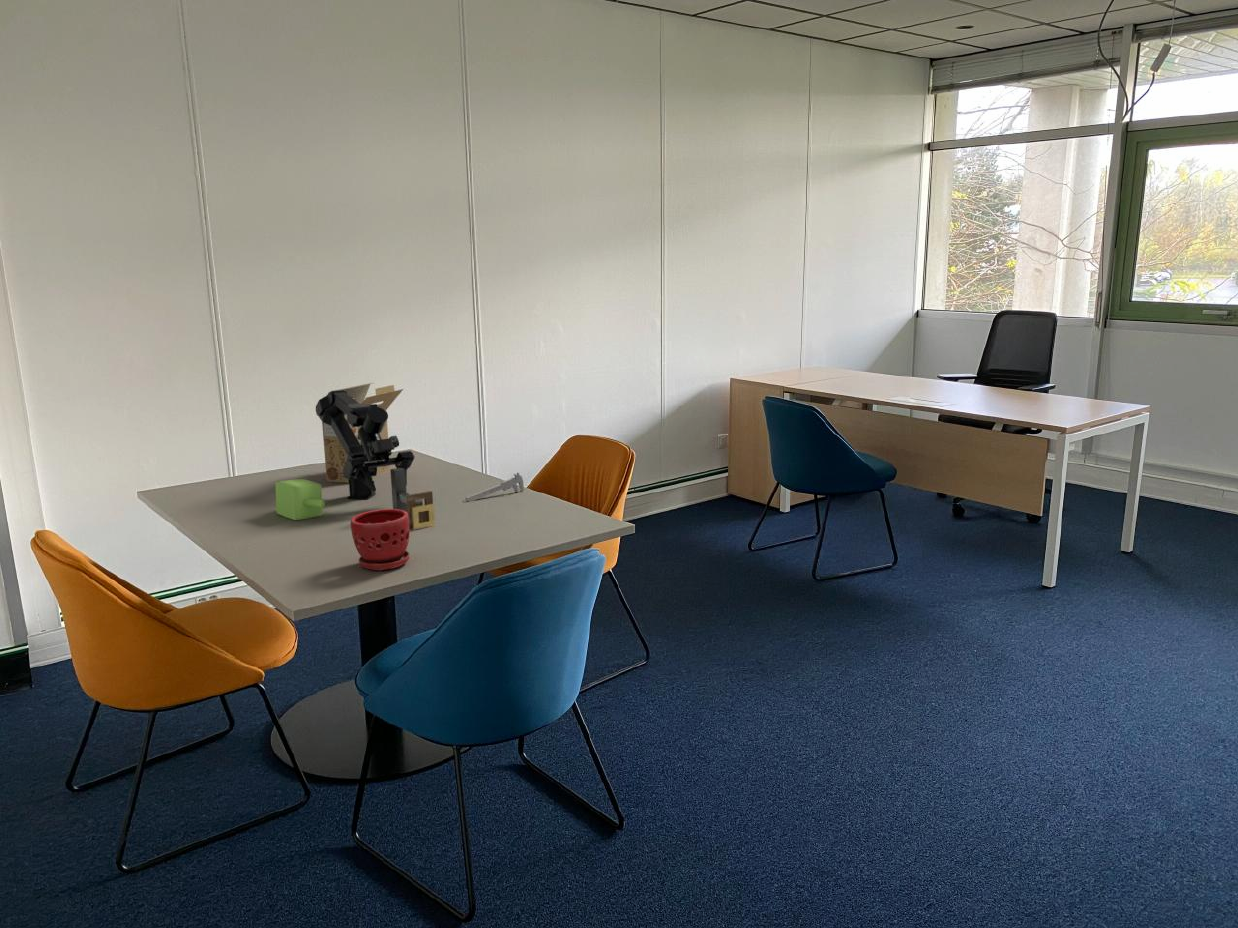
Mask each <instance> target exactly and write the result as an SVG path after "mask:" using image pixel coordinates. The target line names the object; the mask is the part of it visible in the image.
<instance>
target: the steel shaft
mask: <svg viewBox="0 0 1238 928" xmlns="http://www.w3.org/2000/svg"><path fill="white" fill-rule="evenodd" d="M389 471H390V483H391V485H390V486H391V497H392V509H398V510H403V511H406V512H407V497H406V495H410V494H411V493H408V492H407V485H406V475H405V469H403V468H396V467H395V468H390V470H389ZM415 502H416V506H419V505H424V503H423V502H424V501H423V499H419V500H415Z"/></svg>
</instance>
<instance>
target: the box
mask: <svg viewBox="0 0 1238 928" xmlns="http://www.w3.org/2000/svg"><path fill="white" fill-rule="evenodd" d="M372 384H374V382H368V383H363V384H360V385H355V386H350V387H344V388H339V389H338V390H345V391H346V392H347V394H348V395H349V396H350V397H352V398H353V399H354V400H355V401H357V402H358V403H360V404H367V405H372V404H377V403H378V404H377V406H378V407H380V408H382V409H384V410H385V411H386V412H387V409H389V408H390V406H391V405H392V404H393V402H394V401H395V400H396V399H397V398H398V396H399V395H400V394H401V393H402V391H404V388H401V389H398V390H395V385H394V384H392V385H391V384H390V385H387V386H382V387H377V388H374V389H375V395H372V396H367V394H368V391H369V389H370V387H371V385H372ZM335 390H336V389H335ZM335 390H333V391H335ZM366 396H367V397H366ZM379 403H380V404H379ZM345 419H346V420H347V415H346V414H345ZM347 422H348V421H347ZM321 424H322V426H321V427H322V438H323V447H324V448H323V450H324V464H325V465H324V466H325V474H326V475H325V477H326V478H325V479H326V481H327V482H331V481H335V483H343V482H346V483H345V484H349V479H347V478H345V477H344V474H343V469H344V466H345V464H346V460H347V453H346V452H345V450H344V448H343V446H342V445H341V443H340V441H339V439H338V438H337V436H336V434H335V432H334V430H333V429H332V427H331V426H330V425H328V424H325V423H323V422H322V421H321ZM348 424H349V422H348ZM349 426H350V427H351V429H352V431H353V432H354V434H355V436H356V438H357V436H358V431H359V429H360V427H362V426H359V427H352V426H351V425H350V424H349ZM380 436H381V438H382V439H389V429H388V420H387V421H386V423H385V426H384V428H383V430H382V432H380ZM357 439H358V438H357ZM358 441H359V443H360V444H361V445H362V443H361V440H358ZM390 469H391V465H389V466H382V467H377V474H378V475H380V474H383V473H385V472H388V471H390ZM382 472H383V473H382ZM379 473H380V474H379Z"/></svg>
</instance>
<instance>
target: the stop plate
mask: <svg viewBox="0 0 1238 928" xmlns="http://www.w3.org/2000/svg"><path fill="white" fill-rule="evenodd" d="M409 494H410V495H406V497H407V513H408V517H409V530H411V529H412V518H411V507H413V506H416V502H415V500H419V499H422V500H423V502H424V503H423V505H424V504H430V503H432V504H434V499H433V496H434V495H433V491H432V490H428V491H423V492H417V493H409ZM418 515H419V522H421V521H427V511H423V512H418Z"/></svg>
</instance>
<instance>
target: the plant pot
mask: <svg viewBox="0 0 1238 928" xmlns="http://www.w3.org/2000/svg"><path fill="white" fill-rule="evenodd" d="M410 530H411V529H410V528H409V517H408V513H407V512H406V511H403V510H398V509H393V508H388V509H387V508H385V509H376V510H369V511H365V512H362V513H359V514H356V515H354V516H353V517H351V519H350V531H351V535H352V540H353V542H354V546H355V549H356V551H357V552H358V554H359V556H360V557H359V558H358V563H359V565H361V566H362V567H363V568H365V569H368V570H372V571H384V570H391V569H395V568H399V567H401V566H403V565H404V564H406V563H407V562H408V561H409V559H410V557H411V553H410V552H409V551H408V550H407V548H408V546H409V541H410Z"/></svg>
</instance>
